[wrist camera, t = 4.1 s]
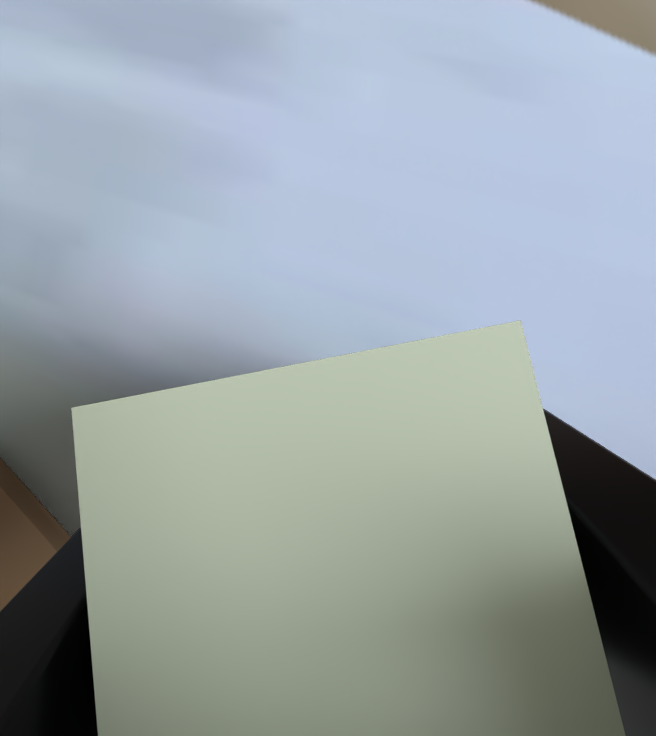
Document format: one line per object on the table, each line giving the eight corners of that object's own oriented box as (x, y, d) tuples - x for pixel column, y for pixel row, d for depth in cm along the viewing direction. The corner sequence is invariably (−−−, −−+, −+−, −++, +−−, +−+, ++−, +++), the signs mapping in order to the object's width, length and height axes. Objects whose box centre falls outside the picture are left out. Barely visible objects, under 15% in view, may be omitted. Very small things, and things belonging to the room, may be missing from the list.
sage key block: (460, 539, 14) (628, 745, 4) (292, 566, 15) (104, 808, 5) (431, 403, 15) (520, 319, 5) (272, 432, 15) (71, 407, 6)
